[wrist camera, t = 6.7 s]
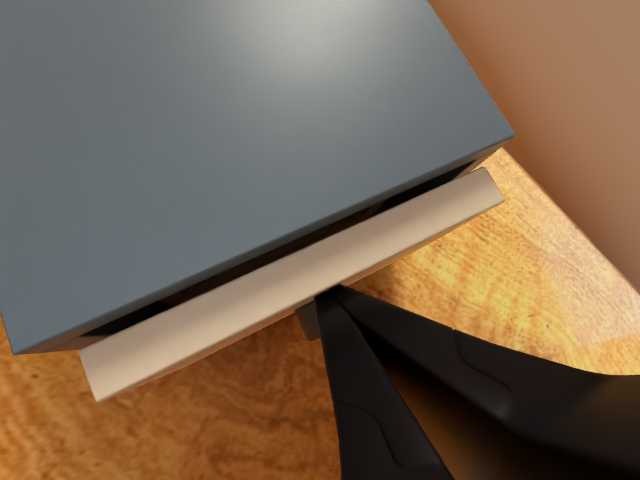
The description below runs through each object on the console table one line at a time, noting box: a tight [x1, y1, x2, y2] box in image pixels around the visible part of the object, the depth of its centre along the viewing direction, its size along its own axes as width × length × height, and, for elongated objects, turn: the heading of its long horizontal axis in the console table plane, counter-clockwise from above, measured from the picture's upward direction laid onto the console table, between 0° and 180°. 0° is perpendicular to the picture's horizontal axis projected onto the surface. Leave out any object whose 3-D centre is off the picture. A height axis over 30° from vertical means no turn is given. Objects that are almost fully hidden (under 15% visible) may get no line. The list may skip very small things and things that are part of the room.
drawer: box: [79, 167, 505, 403], centre depth 13 cm, size 15×11×8 cm
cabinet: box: [0, 0, 515, 355], centre depth 14 cm, size 15×13×10 cm
